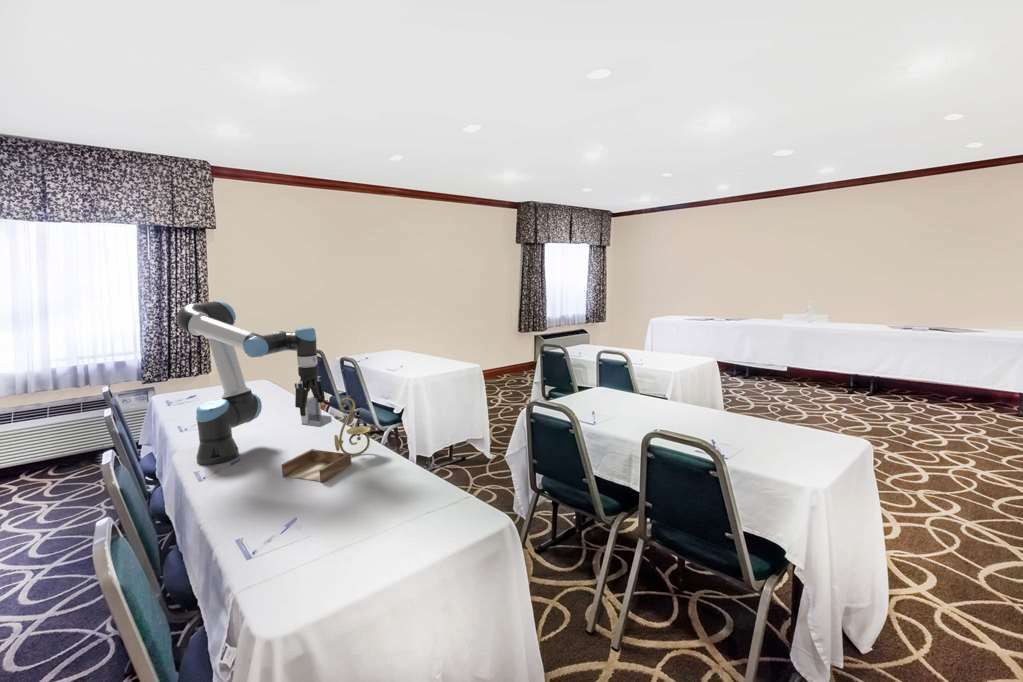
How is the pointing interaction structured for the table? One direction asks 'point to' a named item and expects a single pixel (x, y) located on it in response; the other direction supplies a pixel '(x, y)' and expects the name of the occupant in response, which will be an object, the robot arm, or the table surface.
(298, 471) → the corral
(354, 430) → the wall sconce
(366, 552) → the table surface
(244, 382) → the robot arm
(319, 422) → the angle bracket
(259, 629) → the table surface
